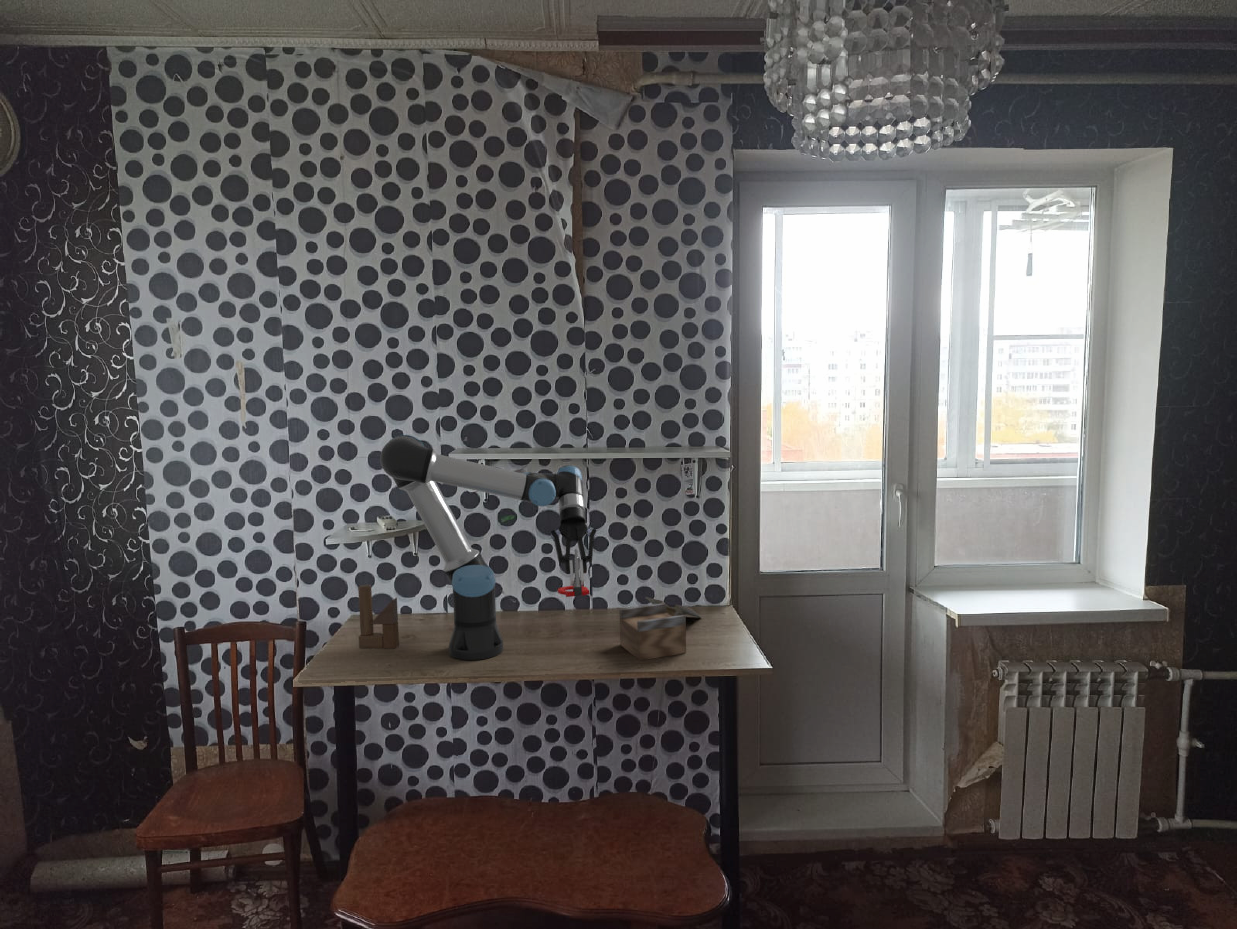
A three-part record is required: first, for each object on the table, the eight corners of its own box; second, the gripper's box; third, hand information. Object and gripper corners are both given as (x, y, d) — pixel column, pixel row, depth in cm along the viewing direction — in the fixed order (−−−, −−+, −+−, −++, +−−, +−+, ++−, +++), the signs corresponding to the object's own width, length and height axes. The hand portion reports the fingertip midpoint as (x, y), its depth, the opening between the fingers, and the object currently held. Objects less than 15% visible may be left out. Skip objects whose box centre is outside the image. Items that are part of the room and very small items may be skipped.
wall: (644, 630, 251) (636, 610, 239) (653, 605, 256) (645, 585, 244) (693, 643, 245) (687, 623, 233) (702, 618, 250) (696, 597, 238)
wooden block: (395, 648, 226) (392, 587, 224) (358, 648, 227) (355, 587, 225) (399, 644, 229) (396, 584, 228) (363, 644, 230) (360, 584, 228)
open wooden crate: (639, 660, 213) (639, 622, 212) (620, 644, 226) (619, 609, 224) (686, 653, 218) (685, 616, 217) (664, 638, 231) (664, 603, 230)
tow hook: (554, 591, 223) (563, 598, 214) (552, 546, 222) (562, 551, 213) (582, 588, 226) (592, 595, 217) (580, 543, 225) (591, 548, 216)
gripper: (597, 519, 234) (604, 588, 220) (546, 521, 233) (549, 591, 218) (598, 504, 228) (605, 574, 214) (546, 506, 227) (549, 577, 212)
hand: (577, 582), depth 216 cm, fingers closed on tow hook, 2 cm apart
